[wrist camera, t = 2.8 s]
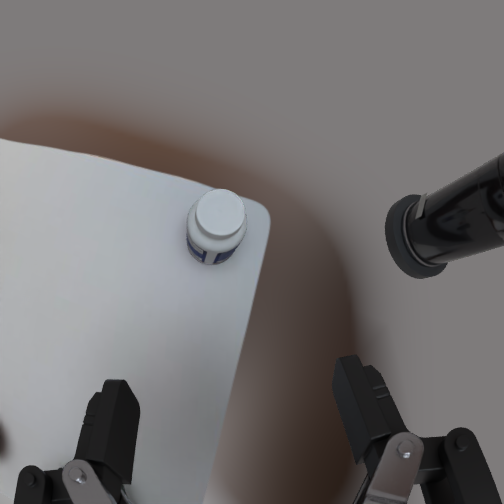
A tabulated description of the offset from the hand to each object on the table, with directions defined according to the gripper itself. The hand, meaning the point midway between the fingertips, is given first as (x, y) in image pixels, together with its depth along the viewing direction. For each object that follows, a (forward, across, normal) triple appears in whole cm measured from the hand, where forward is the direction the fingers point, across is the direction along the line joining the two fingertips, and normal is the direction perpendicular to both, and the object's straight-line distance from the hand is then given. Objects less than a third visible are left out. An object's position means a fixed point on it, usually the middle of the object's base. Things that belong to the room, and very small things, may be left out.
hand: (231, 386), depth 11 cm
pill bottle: (+24, -2, -5) cm, 24 cm away
